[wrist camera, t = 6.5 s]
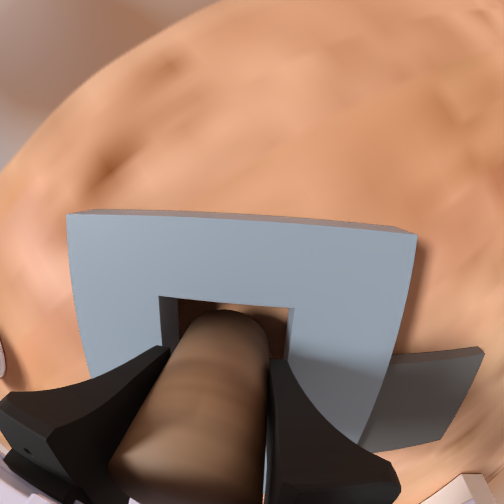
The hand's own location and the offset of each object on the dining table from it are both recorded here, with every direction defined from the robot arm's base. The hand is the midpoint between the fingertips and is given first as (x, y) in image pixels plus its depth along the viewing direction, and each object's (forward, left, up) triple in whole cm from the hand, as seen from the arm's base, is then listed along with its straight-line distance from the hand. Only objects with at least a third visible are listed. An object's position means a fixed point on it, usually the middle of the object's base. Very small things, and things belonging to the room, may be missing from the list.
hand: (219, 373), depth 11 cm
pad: (-5, -12, -3) cm, 13 cm away
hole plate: (-3, 0, -3) cm, 5 cm away
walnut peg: (0, 0, -2) cm, 2 cm away
